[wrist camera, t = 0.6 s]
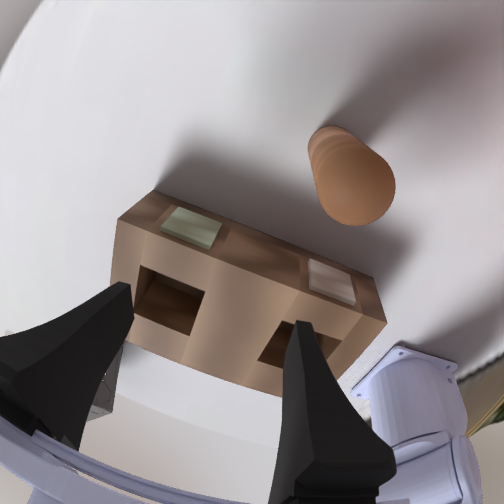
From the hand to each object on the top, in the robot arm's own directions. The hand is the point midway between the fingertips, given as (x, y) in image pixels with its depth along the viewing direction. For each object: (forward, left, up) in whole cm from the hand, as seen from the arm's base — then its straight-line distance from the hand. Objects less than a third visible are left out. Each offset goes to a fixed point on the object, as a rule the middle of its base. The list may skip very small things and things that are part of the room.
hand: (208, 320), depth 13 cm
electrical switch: (+10, +21, -10) cm, 25 cm away
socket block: (-2, +5, -10) cm, 11 cm away
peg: (-3, -7, -10) cm, 12 cm away
